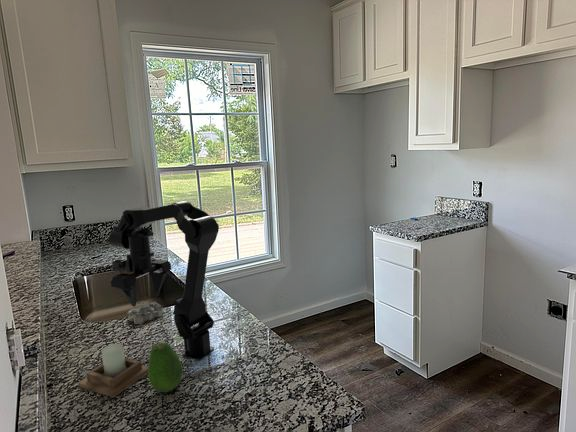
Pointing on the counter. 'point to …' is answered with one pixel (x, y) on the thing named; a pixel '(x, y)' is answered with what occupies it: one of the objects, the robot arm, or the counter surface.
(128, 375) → the holder
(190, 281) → the robot arm
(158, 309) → the egg carton
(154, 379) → the avocado
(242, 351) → the counter surface
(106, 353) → the white rounded cylinder
